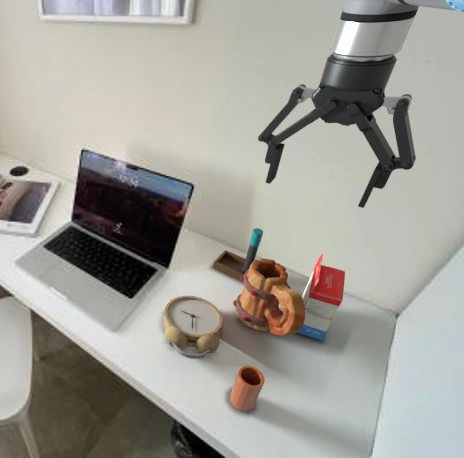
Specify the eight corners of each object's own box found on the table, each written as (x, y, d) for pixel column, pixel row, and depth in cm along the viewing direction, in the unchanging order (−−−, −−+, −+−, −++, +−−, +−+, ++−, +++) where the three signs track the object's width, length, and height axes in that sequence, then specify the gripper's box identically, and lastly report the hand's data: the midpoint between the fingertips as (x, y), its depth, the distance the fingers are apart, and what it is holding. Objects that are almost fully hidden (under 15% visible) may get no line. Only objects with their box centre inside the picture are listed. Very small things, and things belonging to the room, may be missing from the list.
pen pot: (258, 404, 61) (270, 380, 56) (242, 416, 60) (252, 392, 55) (241, 386, 64) (250, 361, 59) (224, 396, 63) (233, 372, 58)
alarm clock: (221, 299, 76) (225, 351, 64) (217, 316, 78) (221, 370, 66) (166, 291, 79) (161, 339, 67) (165, 308, 82) (159, 358, 69)
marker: (252, 273, 84) (265, 231, 76) (246, 276, 83) (258, 235, 76) (245, 268, 85) (257, 227, 78) (239, 271, 85) (250, 230, 77)
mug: (224, 303, 79) (237, 253, 69) (260, 298, 79) (277, 246, 70) (260, 363, 67) (281, 312, 58) (302, 356, 67) (330, 304, 58)
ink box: (321, 341, 69) (350, 290, 60) (292, 331, 72) (315, 280, 63) (325, 310, 74) (352, 259, 66) (298, 302, 77) (320, 251, 68)
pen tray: (281, 281, 82) (283, 275, 80) (271, 295, 79) (273, 289, 78) (223, 256, 90) (225, 249, 89) (212, 268, 87) (213, 261, 86)
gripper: (499, 52, 42) (413, 203, 55) (272, 44, 57) (246, 164, 70) (497, 68, 38) (405, 227, 51) (253, 55, 53) (229, 180, 66)
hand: (313, 191), depth 60 cm, fingers open, 13 cm apart
